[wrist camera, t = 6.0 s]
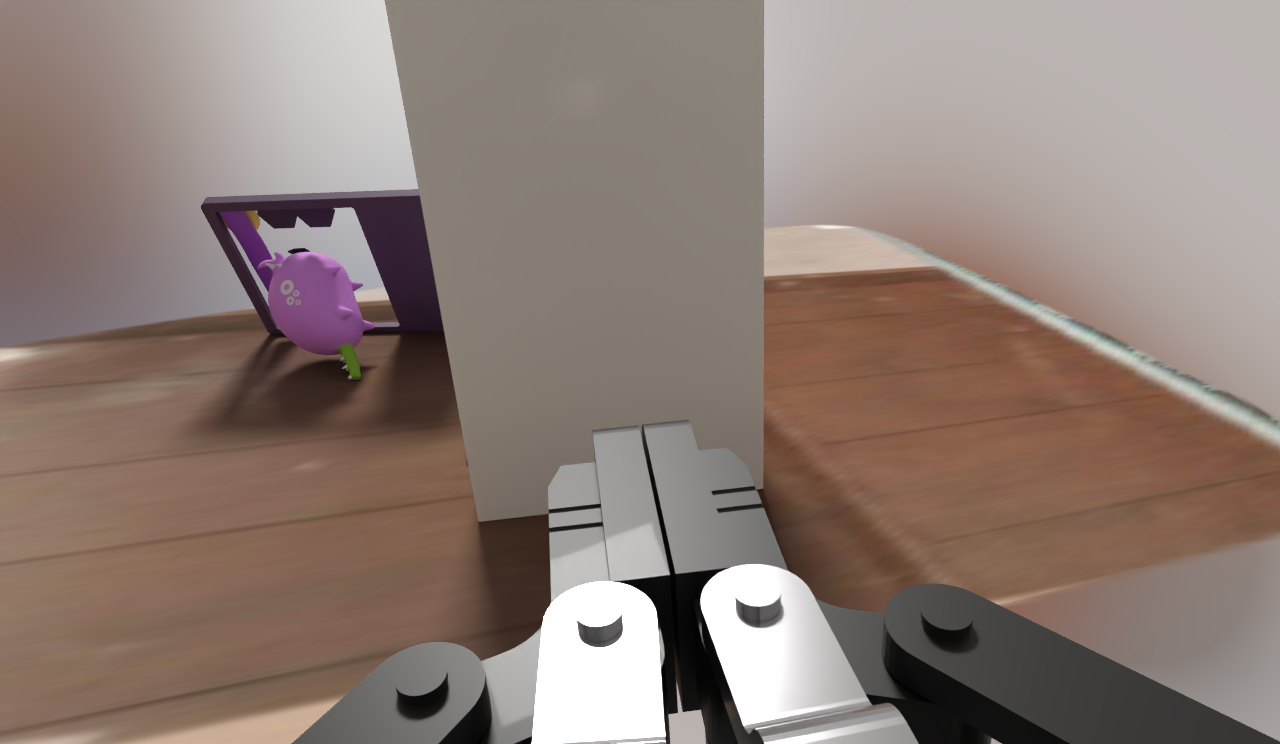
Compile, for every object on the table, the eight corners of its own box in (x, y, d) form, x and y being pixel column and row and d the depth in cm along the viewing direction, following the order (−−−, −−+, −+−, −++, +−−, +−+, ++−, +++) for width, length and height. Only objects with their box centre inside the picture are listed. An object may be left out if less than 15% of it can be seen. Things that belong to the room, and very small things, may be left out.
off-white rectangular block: (478, 522, 25) (378, -33, 18) (482, 469, 27) (395, -40, 21) (763, 488, 25) (764, -61, 19) (743, 440, 28) (737, -64, 21)
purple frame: (447, 176, 32) (210, 185, 33) (414, 271, 29) (149, 278, 30) (486, 312, 37) (279, 317, 38) (462, 408, 34) (234, 411, 35)
